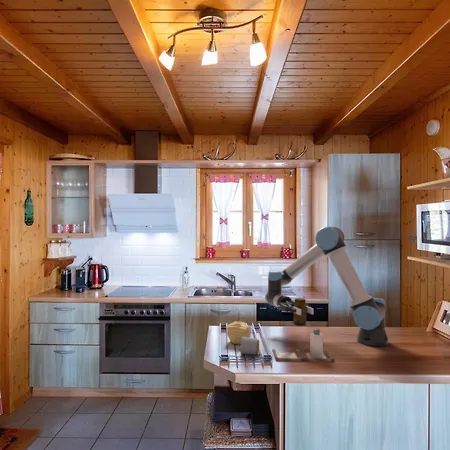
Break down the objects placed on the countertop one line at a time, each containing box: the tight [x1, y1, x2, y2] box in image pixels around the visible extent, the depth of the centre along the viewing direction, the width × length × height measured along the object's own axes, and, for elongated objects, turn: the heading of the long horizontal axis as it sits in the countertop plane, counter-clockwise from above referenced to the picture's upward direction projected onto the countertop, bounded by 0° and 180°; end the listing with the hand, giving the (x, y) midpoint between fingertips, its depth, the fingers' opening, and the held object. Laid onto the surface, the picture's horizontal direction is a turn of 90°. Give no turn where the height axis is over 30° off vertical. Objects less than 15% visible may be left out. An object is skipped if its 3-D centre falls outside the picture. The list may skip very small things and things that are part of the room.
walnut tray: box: [272, 348, 335, 363], centre depth 160 cm, size 25×12×2 cm, turn 90°
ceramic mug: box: [240, 337, 260, 356], centre depth 167 cm, size 11×8×8 cm
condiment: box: [290, 297, 311, 327], centre depth 174 cm, size 7×8×12 cm
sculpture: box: [226, 321, 252, 346], centre depth 182 cm, size 12×12×11 cm
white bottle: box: [309, 328, 324, 358], centre depth 160 cm, size 6×6×12 cm
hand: (306, 311), depth 170 cm, fingers closed on condiment, 6 cm apart
